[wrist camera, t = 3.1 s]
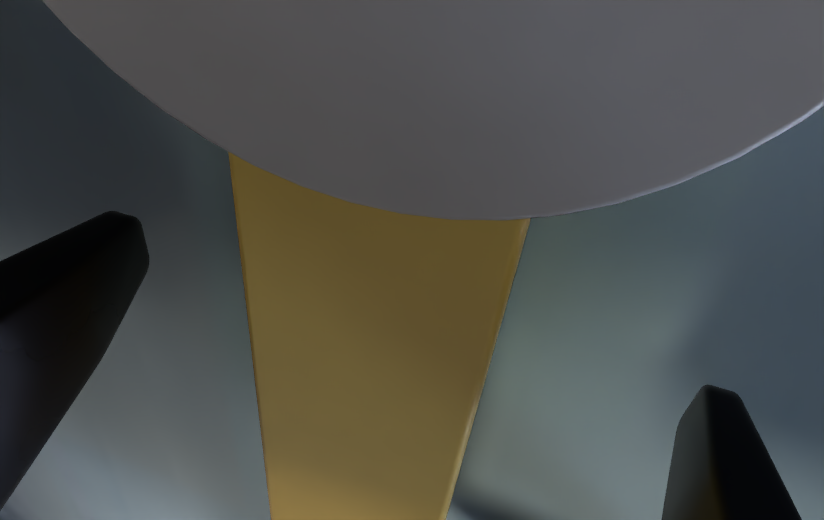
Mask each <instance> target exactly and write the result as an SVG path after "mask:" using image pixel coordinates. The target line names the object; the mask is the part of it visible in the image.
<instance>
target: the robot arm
mask: <svg viewBox="0 0 824 520" xmlns="http://www.w3.org/2000/svg"><path fill="white" fill-rule="evenodd" d="M148 267H149V253H148V249H147V244H146V240H145V236H144V232H143V228H142V225H141V222H140V221H139V220H138V219H137V218H136V217H134V216H131V215H127V214H124V213H120V212H117V211H109V212H105V213H103V214H101V215H99V216H96V217H94V218H92V219H90V220H88V221H86V222H83V223H81V224H79V225H77V226H75V227H73V228H71V229H68V230H66V231H64V232H62V233H60V234H58V235H56V236H53V237H51V238H49V239H47V240H45V241H43V242H40V243H38V244H36V245H34V246H32V247H30V248H28V249H25V250H23V251H21V252H19V253H17V254H15V255H13V256H10V257H8V258H6V259H4V260H2V261H0V511H1V509H2V508H3V506H4V505H5V503H6V502H7V500H8V499H9V497H10V496H11V494H12V493H13V491H14V490H15V488H16V487H17V485H18V484H19V482H20V481H21V479H22V478H23V476H24V475H25V473H26V472H27V470H28V469H29V467H30V466H31V464H32V463H33V461H34V460H35V459H36V457H37V456H38V454H39V453H40V451H41V450H42V448H43V447H44V445H45V444H46V442H47V441H48V439H49V438H50V436H51V435H52V433H53V432H54V430H55V429H56V427H57V426H58V424H59V423H60V421H61V420H62V418H63V417H64V415H65V414H66V412H67V411H68V409H69V408H70V406H71V405H72V403H73V402H74V400H75V399H76V397H77V396H78V394H79V393H80V391H81V390H82V388H83V387H84V385H85V384H86V382H87V381H88V379H89V378H90V376H91V375H92V373H93V372H94V370H95V368H96V367H97V365H98V364H99V362H100V361H101V359H102V357H103V355H104V354H105V352H106V350H107V348H108V346H109V345H110V343H111V341H112V339H113V337H114V335H115V333H116V331H117V329H118V327H119V325H120V323H121V321H122V319H123V318H124V316H125V314H126V312H127V310H128V308H129V306H130V304H131V302H132V300H133V298H134V296H135V294H136V292H137V290H138V288H139V287H140V285H141V283H142V281H143V279H144V277H145V275H146V273H147V270H148ZM662 520H802V519H801V517H800V515H799V513H798V511H797V509H796V507H795V505H794V503H793V501H792V499H791V497H790V495H789V493H788V491H787V489H786V487H785V485H784V483H783V481H782V479H781V477H780V475H779V473H778V471H777V469H776V467H775V465H774V463H773V461H772V459H771V457H770V455H769V453H768V451H767V449H766V447H765V445H764V443H763V441H762V439H761V437H760V435H759V433H758V431H757V429H756V427H755V425H754V423H753V421H752V419H751V417H750V415H749V413H748V411H747V409H746V407H745V405H744V403H743V401H742V399H741V398H740V397H739V395H738V394H736V393H735V392H733V391H730V390H726V389H723V388H719V387H716V386H712V385H705V386H703V387H702V388H701V389H700V390H699V391H698V393H697V395H696V396H695V398H694V399H693V401H692V402H691V404H690V405H689V407H688V408H687V410H686V411H685V413H684V414H683V416H682V417H681V419H680V422H679V424H678V427H677V431H676V436H675V442H674V448H673V454H672V460H671V466H670V472H669V478H668V484H667V490H666V496H665V502H664V508H663V514H662Z"/></svg>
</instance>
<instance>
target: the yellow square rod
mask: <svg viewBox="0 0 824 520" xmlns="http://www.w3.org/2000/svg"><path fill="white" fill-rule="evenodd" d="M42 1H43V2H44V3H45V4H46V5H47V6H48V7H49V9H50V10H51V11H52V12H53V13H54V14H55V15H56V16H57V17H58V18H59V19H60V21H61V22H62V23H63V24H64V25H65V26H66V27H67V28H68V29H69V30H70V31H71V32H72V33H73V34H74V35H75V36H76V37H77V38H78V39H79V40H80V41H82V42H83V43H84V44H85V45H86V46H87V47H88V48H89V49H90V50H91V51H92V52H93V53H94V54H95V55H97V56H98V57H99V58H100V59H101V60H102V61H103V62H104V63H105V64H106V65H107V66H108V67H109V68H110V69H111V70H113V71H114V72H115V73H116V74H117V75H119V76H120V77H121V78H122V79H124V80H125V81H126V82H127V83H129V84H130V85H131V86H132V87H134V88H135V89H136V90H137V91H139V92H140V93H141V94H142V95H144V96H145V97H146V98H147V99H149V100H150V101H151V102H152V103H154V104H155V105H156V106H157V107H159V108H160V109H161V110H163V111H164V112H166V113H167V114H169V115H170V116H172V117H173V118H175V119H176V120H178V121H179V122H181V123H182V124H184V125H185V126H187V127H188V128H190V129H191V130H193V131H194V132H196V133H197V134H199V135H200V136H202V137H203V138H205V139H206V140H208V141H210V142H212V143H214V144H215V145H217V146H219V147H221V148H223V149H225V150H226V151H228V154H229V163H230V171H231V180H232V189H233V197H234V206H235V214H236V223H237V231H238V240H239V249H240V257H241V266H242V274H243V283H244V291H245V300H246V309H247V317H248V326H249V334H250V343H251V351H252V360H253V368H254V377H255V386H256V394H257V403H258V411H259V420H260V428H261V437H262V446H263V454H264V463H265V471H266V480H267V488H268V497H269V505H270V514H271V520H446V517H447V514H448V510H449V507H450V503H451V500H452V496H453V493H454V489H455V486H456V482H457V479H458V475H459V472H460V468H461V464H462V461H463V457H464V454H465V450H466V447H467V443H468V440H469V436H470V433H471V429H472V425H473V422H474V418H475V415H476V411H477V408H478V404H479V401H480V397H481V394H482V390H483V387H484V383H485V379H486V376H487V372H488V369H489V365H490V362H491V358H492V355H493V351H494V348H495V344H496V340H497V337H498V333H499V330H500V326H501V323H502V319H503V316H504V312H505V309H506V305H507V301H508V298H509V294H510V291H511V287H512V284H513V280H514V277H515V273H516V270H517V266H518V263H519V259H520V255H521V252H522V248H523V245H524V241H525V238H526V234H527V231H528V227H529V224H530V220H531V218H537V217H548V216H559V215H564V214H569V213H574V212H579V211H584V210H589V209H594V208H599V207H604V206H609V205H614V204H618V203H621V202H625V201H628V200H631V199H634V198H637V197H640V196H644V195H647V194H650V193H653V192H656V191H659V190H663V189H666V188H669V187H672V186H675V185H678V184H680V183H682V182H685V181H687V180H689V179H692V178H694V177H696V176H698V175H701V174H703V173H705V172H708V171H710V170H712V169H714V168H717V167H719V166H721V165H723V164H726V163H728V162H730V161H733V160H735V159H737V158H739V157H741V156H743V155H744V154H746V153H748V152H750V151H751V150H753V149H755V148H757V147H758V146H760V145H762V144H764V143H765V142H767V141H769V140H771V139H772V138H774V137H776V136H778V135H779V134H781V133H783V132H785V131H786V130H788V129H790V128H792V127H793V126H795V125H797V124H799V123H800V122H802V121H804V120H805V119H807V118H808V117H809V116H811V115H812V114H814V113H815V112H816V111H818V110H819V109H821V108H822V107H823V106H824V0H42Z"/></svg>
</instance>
